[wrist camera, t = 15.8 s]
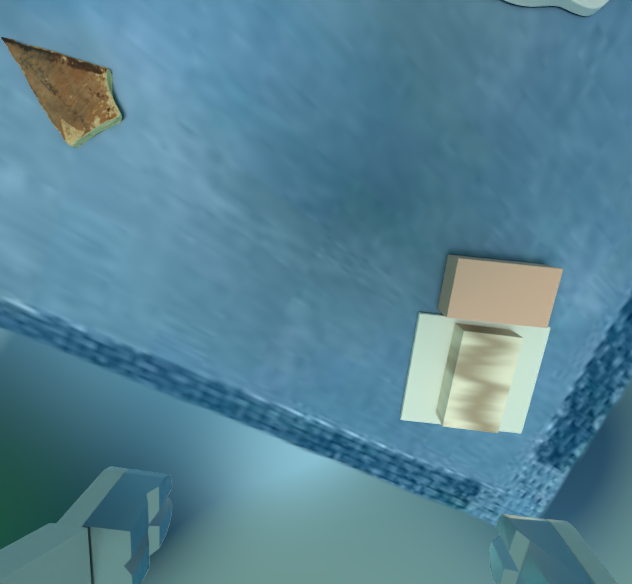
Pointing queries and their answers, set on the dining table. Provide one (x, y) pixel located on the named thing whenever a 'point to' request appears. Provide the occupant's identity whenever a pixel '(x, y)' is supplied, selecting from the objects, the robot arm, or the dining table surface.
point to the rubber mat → (431, 364)
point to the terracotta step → (499, 291)
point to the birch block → (478, 377)
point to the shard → (69, 91)
